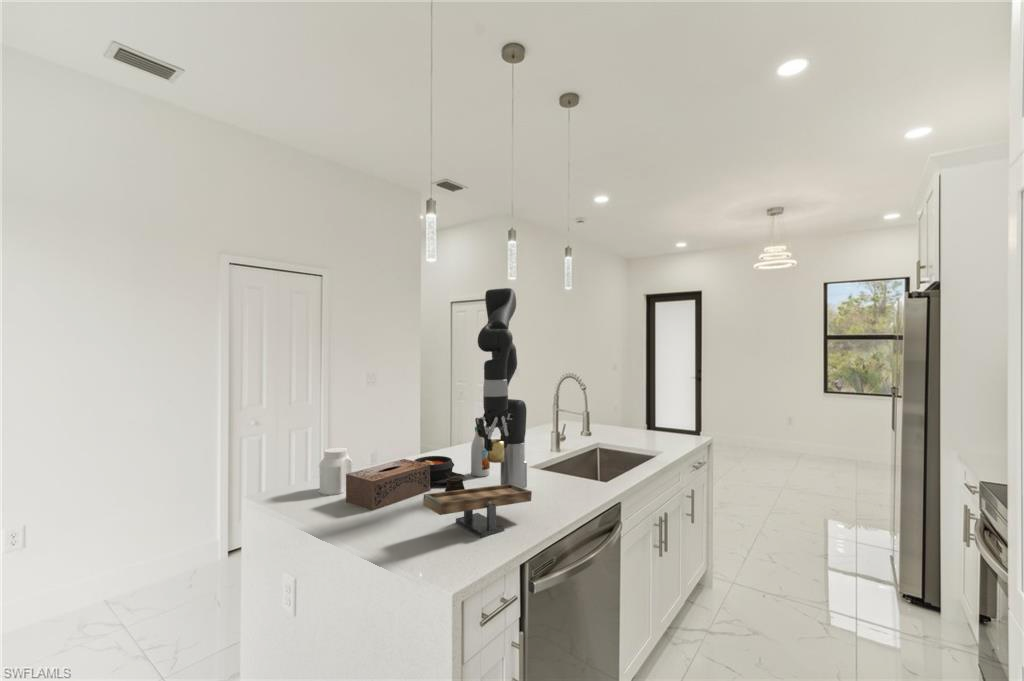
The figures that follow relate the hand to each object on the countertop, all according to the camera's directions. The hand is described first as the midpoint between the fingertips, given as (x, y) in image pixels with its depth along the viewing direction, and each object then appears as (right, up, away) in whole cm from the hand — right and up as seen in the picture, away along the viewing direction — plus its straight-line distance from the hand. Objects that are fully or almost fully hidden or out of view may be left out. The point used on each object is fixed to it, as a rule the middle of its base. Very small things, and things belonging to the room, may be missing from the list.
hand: (496, 449), depth 142 cm
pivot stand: (-5, -22, -4) cm, 23 cm away
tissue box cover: (-39, -23, +24) cm, 51 cm away
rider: (0, -4, 0) cm, 4 cm away
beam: (-5, -14, -4) cm, 15 cm away
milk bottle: (-8, -23, +51) cm, 57 cm away
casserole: (-27, -23, +42) cm, 55 cm away
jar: (-61, -23, +31) cm, 72 cm away
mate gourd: (-15, -23, +18) cm, 33 cm away
